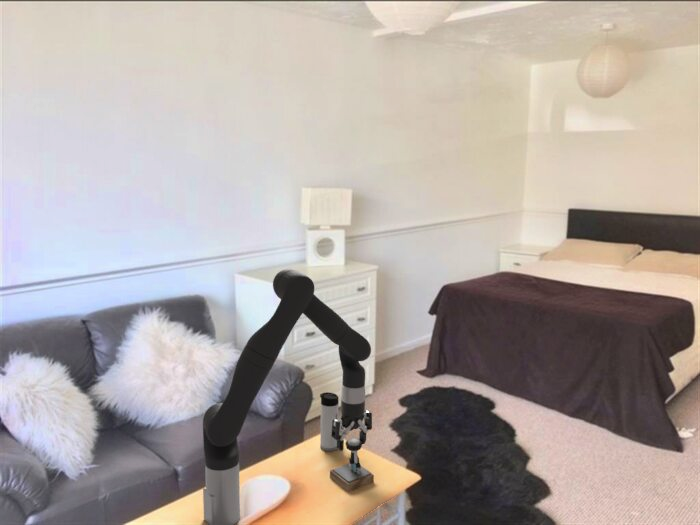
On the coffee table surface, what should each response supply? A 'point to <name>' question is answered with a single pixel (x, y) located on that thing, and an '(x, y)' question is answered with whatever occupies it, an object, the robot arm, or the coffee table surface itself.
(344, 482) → the tray
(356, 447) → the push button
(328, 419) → the travel mug
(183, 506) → the coffee table surface
